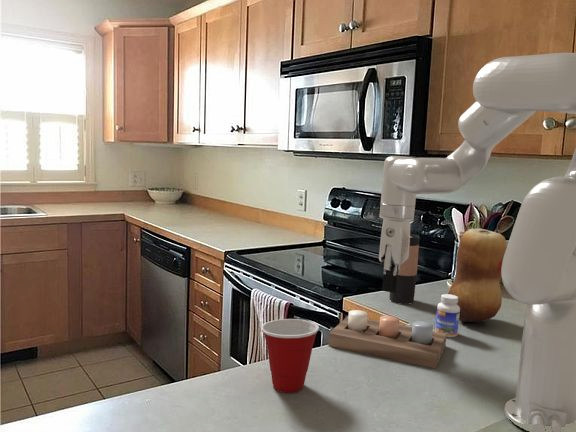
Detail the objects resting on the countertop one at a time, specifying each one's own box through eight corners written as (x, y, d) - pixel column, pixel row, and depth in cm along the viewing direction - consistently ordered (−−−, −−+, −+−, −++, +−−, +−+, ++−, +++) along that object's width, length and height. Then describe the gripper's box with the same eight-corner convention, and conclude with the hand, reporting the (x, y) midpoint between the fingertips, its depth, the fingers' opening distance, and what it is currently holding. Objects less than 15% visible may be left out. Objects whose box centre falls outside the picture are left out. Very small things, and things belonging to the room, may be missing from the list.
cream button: (363, 334, 119) (364, 317, 119) (345, 330, 121) (346, 314, 120) (368, 328, 123) (369, 312, 122) (351, 324, 125) (352, 308, 124)
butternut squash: (492, 334, 130) (502, 236, 126) (439, 322, 137) (448, 229, 134) (504, 320, 141) (513, 230, 138) (455, 309, 149) (462, 224, 145)
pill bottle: (432, 334, 128) (436, 296, 126) (437, 328, 132) (440, 291, 131) (455, 339, 125) (458, 300, 124) (459, 332, 130) (462, 295, 129)
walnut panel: (436, 368, 108) (437, 354, 108) (328, 345, 118) (329, 333, 117) (445, 346, 121) (446, 333, 120) (347, 327, 130) (348, 315, 130)
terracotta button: (395, 340, 116) (396, 323, 115) (376, 336, 118) (377, 319, 117) (399, 334, 120) (401, 317, 119) (381, 330, 122) (382, 314, 121)
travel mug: (383, 298, 157) (388, 233, 154) (403, 296, 160) (408, 232, 157) (398, 305, 150) (404, 238, 147) (419, 303, 153) (425, 237, 151)
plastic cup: (291, 368, 105) (294, 311, 103) (327, 389, 97) (331, 328, 95) (247, 381, 98) (249, 321, 97) (282, 405, 90) (285, 340, 88)
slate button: (429, 347, 113) (431, 329, 112) (409, 343, 115) (410, 325, 114) (432, 340, 117) (434, 323, 116) (413, 336, 119) (414, 320, 118)
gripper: (406, 218, 107) (398, 303, 110) (420, 210, 120) (412, 286, 123) (371, 213, 110) (364, 296, 113) (388, 206, 123) (381, 280, 126)
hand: (389, 290), depth 118 cm, fingers closed
